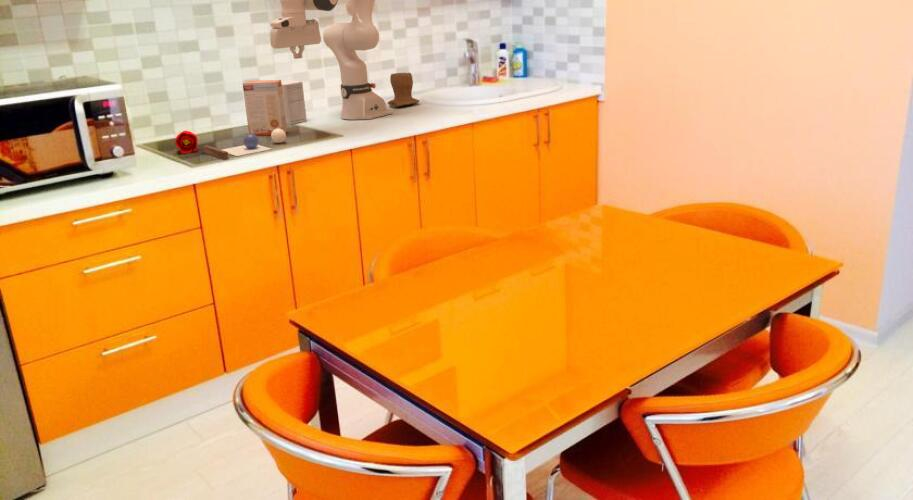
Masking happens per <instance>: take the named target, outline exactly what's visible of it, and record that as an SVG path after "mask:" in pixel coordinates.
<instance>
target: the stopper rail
mask: <svg viewBox="0 0 913 500" xmlns="http://www.w3.org/2000/svg"><path fill="white" fill-rule="evenodd" d="M203 151H204V152H203V153H204V154H206V155H209V156H213V157H216V158H218V159H222V160H225V161H226V160H229V159H230V157H229V154H228V152H226V151H223V150H222V149H220V148H216V147H214V146H210V145H203Z"/></svg>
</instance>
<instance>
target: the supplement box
mask: <svg viewBox="0 0 913 500" xmlns="http://www.w3.org/2000/svg"><path fill="white" fill-rule="evenodd" d="M281 84H282V92H283V100H284V109H285V117H286V126H287V125H288V126H290V125H294V124H295V125H296V124H299V123H305V122H307V112H306V110H307V109H306V103H305V94H304V86H303V84H304V83H303V81H300V80H294V79H289V80H281Z"/></svg>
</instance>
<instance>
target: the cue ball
mask: <svg viewBox="0 0 913 500" xmlns="http://www.w3.org/2000/svg"><path fill="white" fill-rule="evenodd" d="M270 137H271V140H272V142H274V143H276V144H282V143H283V142H285V140H286V139H287V132H286V133H285V132H284V130H282V129H279V128H277V129H274V130H273V131H272V133H271V135H270Z"/></svg>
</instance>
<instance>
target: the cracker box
mask: <svg viewBox="0 0 913 500" xmlns="http://www.w3.org/2000/svg"><path fill="white" fill-rule="evenodd" d="M281 81H282V79H267V80H265V79H263V80H247V81H246V80H245V82H242V91H243V97H244V105H245V112H246V113H245V114H246V122H247V127H248V134H254V135H256V136H271V133H272V131H273V130H274V129H277V128H279V129H282V130H284V132H285V133H286V134H287V132H288V127H287V124H286V117H285V109H284V100H283V92H282V84H281Z"/></svg>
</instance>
